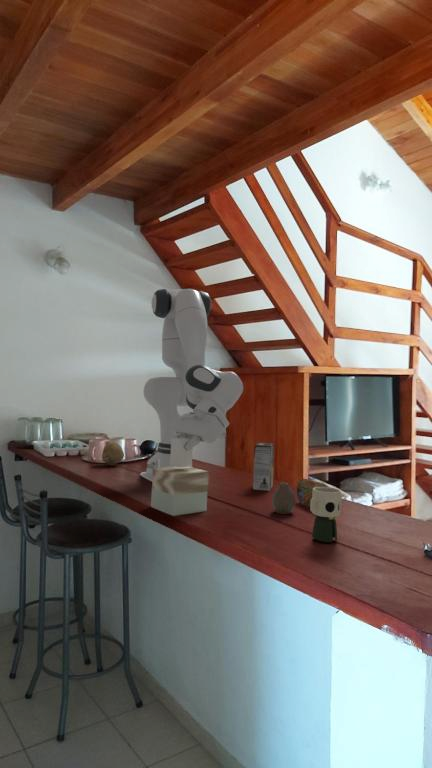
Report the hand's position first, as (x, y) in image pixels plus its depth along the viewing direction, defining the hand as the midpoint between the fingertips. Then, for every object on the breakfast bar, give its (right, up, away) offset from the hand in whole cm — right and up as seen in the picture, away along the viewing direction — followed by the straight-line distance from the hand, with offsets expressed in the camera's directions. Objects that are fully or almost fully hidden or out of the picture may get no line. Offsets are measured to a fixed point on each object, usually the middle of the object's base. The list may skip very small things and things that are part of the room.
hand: (180, 447), depth 167 cm
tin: (+42, -20, +10) cm, 47 cm away
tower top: (0, -13, 0) cm, 13 cm away
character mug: (+38, -21, -26) cm, 51 cm away
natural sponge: (-33, -16, +70) cm, 79 cm away
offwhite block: (0, -5, 0) cm, 5 cm away
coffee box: (+28, -19, +36) cm, 50 cm away
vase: (+31, -20, +1) cm, 37 cm away
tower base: (0, -19, 0) cm, 19 cm away
